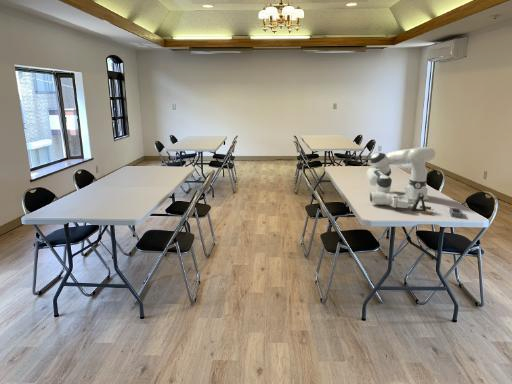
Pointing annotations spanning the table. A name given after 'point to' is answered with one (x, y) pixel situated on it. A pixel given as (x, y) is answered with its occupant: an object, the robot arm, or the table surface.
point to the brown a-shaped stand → (418, 202)
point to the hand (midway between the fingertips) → (415, 202)
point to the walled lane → (426, 212)
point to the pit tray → (456, 213)
